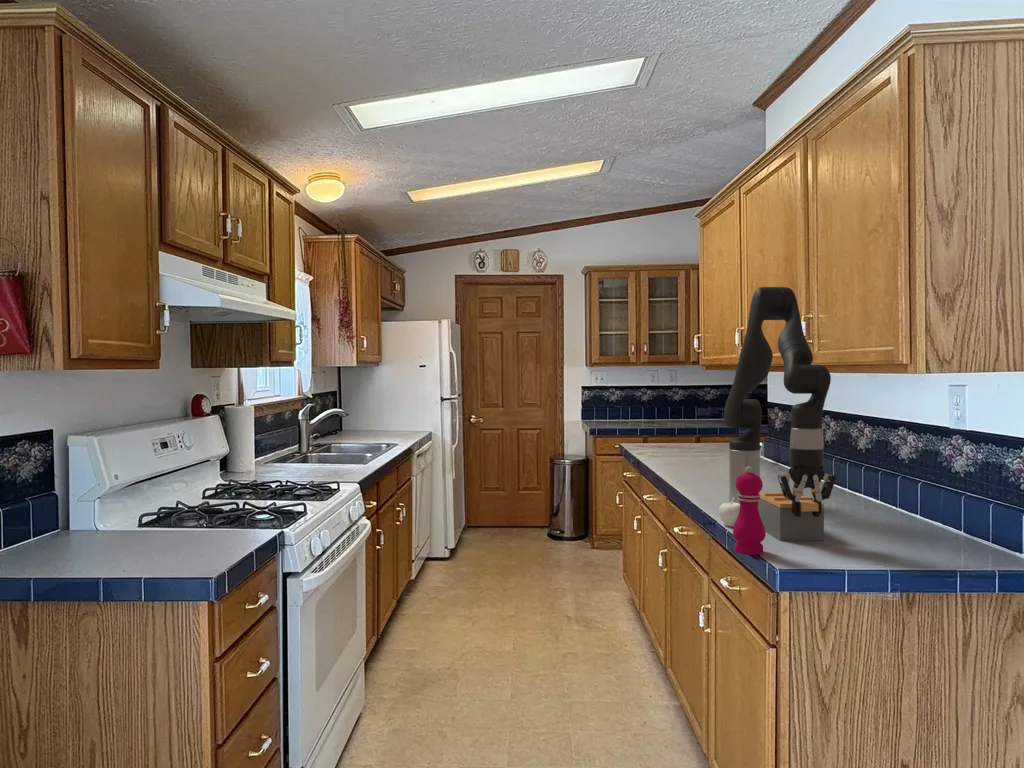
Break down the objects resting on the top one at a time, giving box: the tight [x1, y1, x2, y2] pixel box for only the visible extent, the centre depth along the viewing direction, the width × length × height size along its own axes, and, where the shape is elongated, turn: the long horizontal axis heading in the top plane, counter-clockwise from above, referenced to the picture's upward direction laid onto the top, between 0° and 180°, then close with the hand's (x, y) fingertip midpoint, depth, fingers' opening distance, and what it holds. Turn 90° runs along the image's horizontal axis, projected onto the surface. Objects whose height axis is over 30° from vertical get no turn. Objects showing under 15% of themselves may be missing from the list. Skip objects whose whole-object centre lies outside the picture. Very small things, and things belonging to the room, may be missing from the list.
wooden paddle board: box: [759, 491, 825, 511], centre depth 176 cm, size 20×11×3 cm, turn 1°
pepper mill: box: [732, 466, 766, 556], centre depth 160 cm, size 7×7×20 cm
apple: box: [718, 497, 740, 528], centre depth 187 cm, size 7×7×8 cm
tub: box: [758, 498, 825, 541], centre depth 178 cm, size 16×11×8 cm
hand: (806, 515), depth 168 cm, fingers closed on wooden paddle board, 4 cm apart
